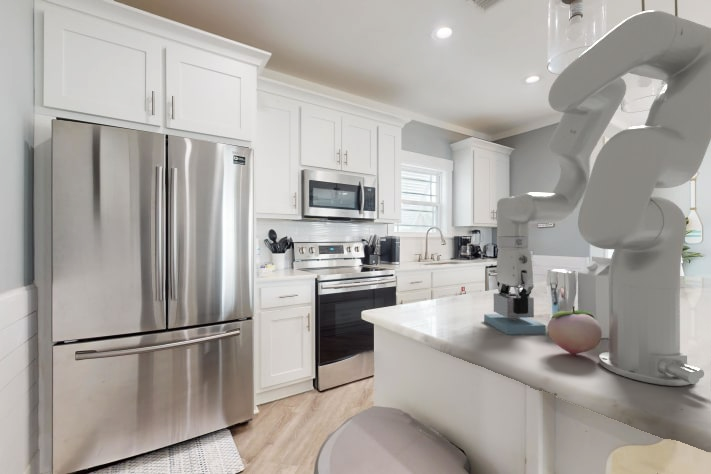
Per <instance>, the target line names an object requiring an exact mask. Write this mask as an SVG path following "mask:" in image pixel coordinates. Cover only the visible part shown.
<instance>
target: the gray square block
mask: <svg viewBox="0 0 711 474" xmlns="http://www.w3.org/2000/svg"><path fill="white" fill-rule="evenodd" d="M509 296H513V297H509ZM515 298H517V296H516V293H515V292H511V293H499V292H498V293H493V312H494V313H495V314H500V315H502V316H504V317H507V318H526V317H527V318H534V316H535V314H534V313H535V309H534V307H535V306H534V305H535V304H534V302H535V301H534V299H535V298H534V297H533V296H530V297H529V298H528V313H527V314H516V313H515Z"/></svg>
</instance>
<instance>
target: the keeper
mask: <svg viewBox="0 0 711 474" xmlns="http://www.w3.org/2000/svg"><path fill="white" fill-rule="evenodd" d="M509 297H513V296H509ZM483 316H484V317H483V318H484V319H483V321H484V323H486V324H487V325H490V326H492V327H493V328H495V329H497V330H499V331H501V333H504V334H505V335H537V334H546V328H547V327H546V325H545V324H543V323H541V322H539V321H536V320H534V319H532V318H531V317H526V318H507V317H504V316H502V315H500V314H498V313H492V314H491V313H490V314H489V313H485V314H484V315H483Z"/></svg>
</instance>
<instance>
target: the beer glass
mask: <svg viewBox="0 0 711 474" xmlns="http://www.w3.org/2000/svg"><path fill="white" fill-rule="evenodd" d="M546 273H547V274H546V294H547V301H548V304H549V311H550V313H549V319H548V322H549V321H550V320H551V317H552V316H553V315H554V314H555V313H556V312H559V311H569V312H573V306H574V307H575V308H576V303H577V300H578V272H577V271H576V270H573V269H547V272H546ZM575 308H574V310H575Z"/></svg>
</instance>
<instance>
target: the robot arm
mask: <svg viewBox="0 0 711 474" xmlns="http://www.w3.org/2000/svg"><path fill="white" fill-rule="evenodd" d="M627 74H631V75H636V76H639V77H644V78H649V79H654V80H660V81H663V82H665V83H666V84H665V85H664V87H662V89H661V90H660V91H659V92H658V94H657V95H656V96H655V98H654V100H653V102H652V103H651V106H650V108H649V111H648V115H647V118H646V121H645V122H644V123H645V124H644V125H639V126H632V127H629V128H626V129H623V130H621V131H619V132H617V133H616V134H614V135H613V136H612V137H610V138H609V139H608V140H607V141H606V142H605V144H604V145H603V146H602V147H601V149H599V152H598V153H597V156H596V158H595V160H594V162H593V167H592V169H591V171H590V164H589V163H590V162H589V161H590V157H591V156H592V154H593V151H594V150H595V148H596V146H597V145H598V143H599V141H600V139H601V137H602V135H603V134H604V132H605V130H606V129H607V127H608V126H609V124H610V123H611V121H612V119H613V117H614V116H615V113H616V111H617V110H618V108H619V106H620V105H621V104H622V102H623V100H624V98H625V95H626V93H627V84H626V82H625V80H624V79H623V78H622V77H623V76H626V75H627ZM547 98H548V104H549V106H550V108H551V109H552V110H554V111H557V112H559V113H563V114H562V116H561V117H560V118H561V119H560V120H559V122H558V124H557V126H556V128H555V129H554V132H553V134H552V135H551V138H550V140H549V141H548V144H547V149H548V152H549V153H550V154H551V155H552V156H553V157H555V159H556V160H557V162H558V163H559V167H560V174H559V178H558V181H557V183H556V185H555V187H554V189H553V190H552V192H525V193H524V192H523V193H521V194H518V195H516V196H515V195H514V196H507V197H502V198H500V199H498V200H497V203H496V233H497V234H496V236H497V237H496V246H497V258H496V275H495V280H496V285H497V287H498V288H497V290H498V293H512V292H511V291H510V290H511V288H513V289H514V293H516V296H517V298H515V313H516V314H527V313H528V298H529V297H531V296H530V295H531V293H532V291H533V288H534V287H535V286H534V273H533V272H534V271H533V263H532V261H533V260H532V255H531V251H530V249H529V248H530V245H529V244H530V243H529V242H530V241H529V234H530V233H529V224H536V225H537V224H539V225H540V224H560V223H562V222H564V221H566V220H567V219H569V218H570V216H571V215H572V214H573V213H574V212H575V211H576V209H577V207H578V205H579V204H580V202H581V201H582V202H581V204H580V209H579V211H578V217H577V219H578V220H577V228H578V230H579V233H580V236H581V237H582V238H583V240H585V242H586V243H588V245H591V246H593V247H595V248H599V249H603V250H613V252H612V255H611V261H610V266H609V338H608V351H605V352H601V353H599V355H598V363H599V364H600V365H601V366H602V367H603V368H605V369H606V370H608V371H610V372H612V373H614V374H617V375H620V376H621V377H626V378H628V379H630V380H636V381H640V382H643V383H647V384H655V385H659V386H660V385H661V386H669V387H670V386H671V387H673V386H674V387H683V386H688V385H696V384H698V383H699V382H700V379H702V378H704V376H705V372H704V370H703V369H701V368H698V367H695V366H693V365H692V366H691V365H689V364H688V354H684V353H682V352H681V266H682V265H681V263H682V254H683V248H684V244H685V239H686V235H687V220H686V215H685V214H684V212H683V211H682V209H681V208H680V207H679V206H678V205H677V204H676V203H675V202H673V201H671V200H669V199H667V198H664V197H661V196H657V195H652V194H653V192H654V190H655V189H670V188H676V187H679V186H682V185H684V184H686V183H687V182H689V181H691V180H692V179H693V177H695V176H696V174H697V173H698V171H699V169H700V167H701V165H702V163H703V161H704V158H705V155H706V152H707V150H708V148H709V145H710V142H711V27H710V26H706V25H703V24H700V23H698V22H695V21H692V20H689V19H686V18H682V17H679V16H677V15H674V14H671V13H669V12H666V11H662V10H646V11H642V12H639V13H637V14H634V15H632V16H630V17H627V19H625V20H623V21H622V22H620V23H619V24H617V25H616V26H615V27H614V28H612V29H611V30H610V31H608V32H607V33H606V34H605V35H604V36H603V37H601V38H600V39H599V40H597V41H596V42H594V43H593V44H592V46H590V47H589V48H588V49H586V50H585V51H584V52H583V53H581V54H580V55H579V56H578V57H577V58H575V59H574V60H573V61H572V62H571V63H570V64H568V66H566V67H565V68H564V69H563V71H561V72H560V73H559V75H557V77H556V78H555V80H554V81H553V83H552V84H551V87H550V89H549V92H548V97H547ZM520 290H521V291H520Z"/></svg>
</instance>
